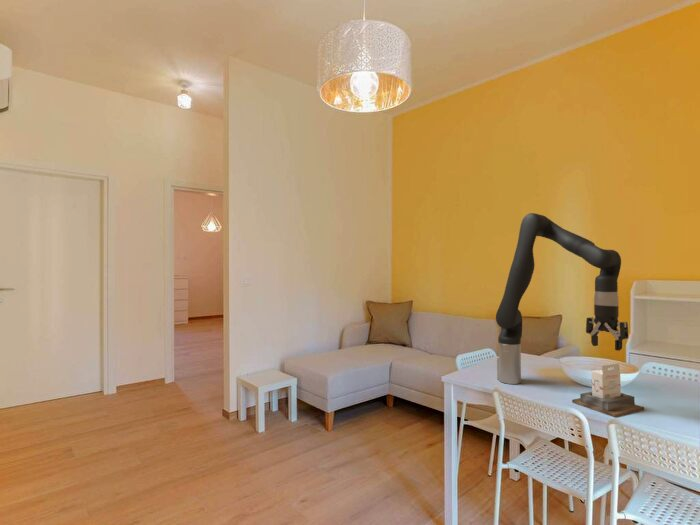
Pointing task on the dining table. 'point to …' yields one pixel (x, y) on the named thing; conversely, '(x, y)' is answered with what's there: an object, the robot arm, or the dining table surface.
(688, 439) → the dining table surface
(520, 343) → the robot arm
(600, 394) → the ink cartridge box
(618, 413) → the socket plate
